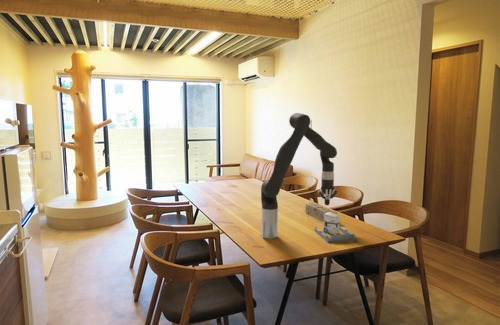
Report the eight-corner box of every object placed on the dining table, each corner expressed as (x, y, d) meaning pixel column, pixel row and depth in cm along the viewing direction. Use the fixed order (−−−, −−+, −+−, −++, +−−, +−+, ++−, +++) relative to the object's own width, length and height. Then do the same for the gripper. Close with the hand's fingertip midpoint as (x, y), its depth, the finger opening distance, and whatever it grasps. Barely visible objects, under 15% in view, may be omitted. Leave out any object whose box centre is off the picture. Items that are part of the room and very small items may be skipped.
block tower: (304, 214, 248) (327, 224, 221) (304, 203, 247) (327, 212, 220) (313, 213, 251) (337, 223, 224) (313, 202, 250) (337, 211, 223)
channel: (327, 242, 188) (327, 235, 187) (314, 230, 208) (314, 224, 208) (357, 241, 191) (357, 234, 190) (341, 229, 211) (341, 223, 211)
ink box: (323, 231, 206) (323, 213, 205) (327, 230, 209) (328, 211, 208) (335, 235, 200) (336, 216, 199) (339, 233, 203) (340, 214, 202)
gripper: (319, 179, 206) (319, 207, 208) (340, 178, 208) (339, 206, 210) (315, 177, 213) (314, 204, 215) (335, 176, 215) (334, 203, 217)
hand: (327, 205), depth 213 cm, fingers closed
